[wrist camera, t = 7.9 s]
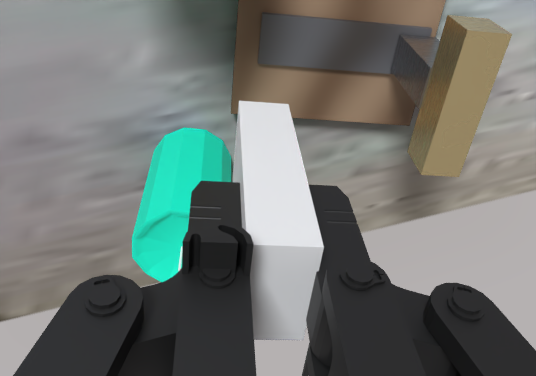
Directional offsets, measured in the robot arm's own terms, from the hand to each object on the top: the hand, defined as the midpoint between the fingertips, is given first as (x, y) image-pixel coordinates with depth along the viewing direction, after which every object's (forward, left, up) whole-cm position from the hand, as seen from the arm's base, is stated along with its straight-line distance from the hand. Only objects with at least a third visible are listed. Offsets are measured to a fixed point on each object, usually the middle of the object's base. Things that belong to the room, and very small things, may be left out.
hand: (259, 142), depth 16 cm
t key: (+11, -2, -18) cm, 21 cm away
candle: (-3, -13, -20) cm, 24 cm away
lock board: (+6, -2, -20) cm, 21 cm away
